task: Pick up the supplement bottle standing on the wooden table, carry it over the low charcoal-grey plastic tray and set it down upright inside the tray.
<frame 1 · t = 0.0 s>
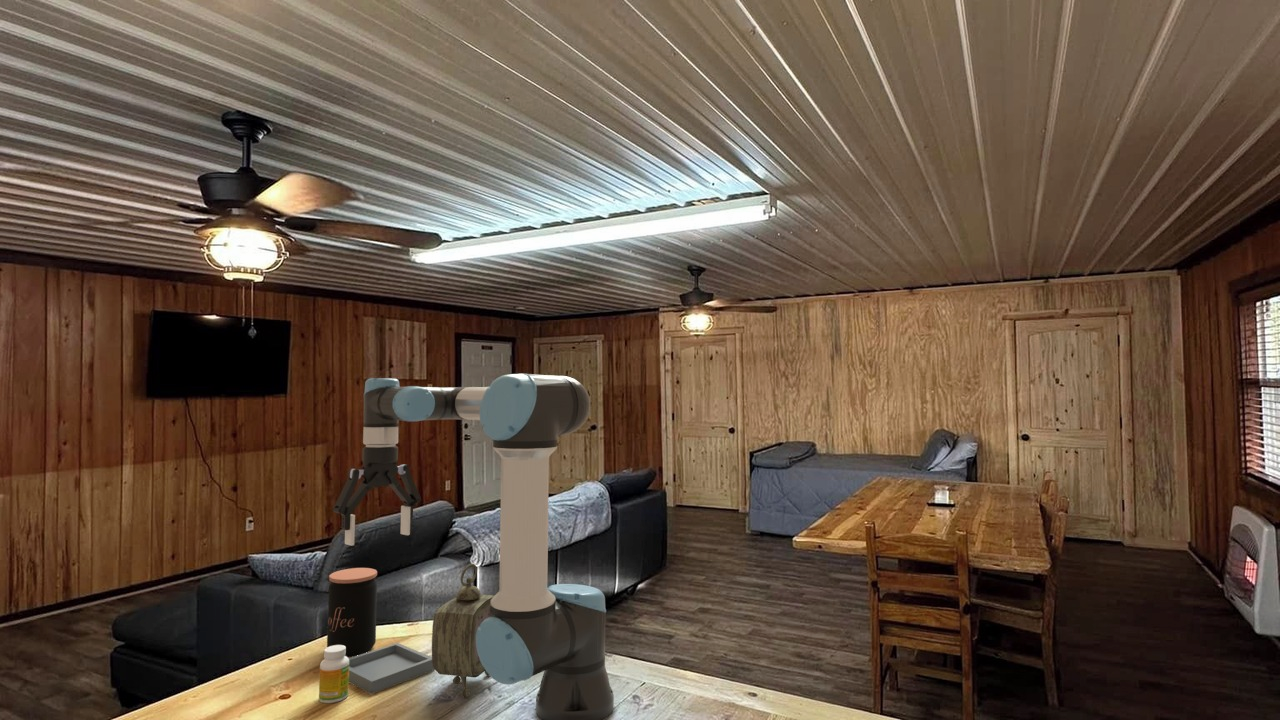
hand: (378, 539, 149), 28 cm above the table, tool pointing down, fingers open, 13 cm apart
supplement bottle: (333, 698, 132), on the table
tabletop clock: (465, 686, 138), on the table
tray: (385, 672, 144), on the table
coffee jar: (351, 650, 156), on the table
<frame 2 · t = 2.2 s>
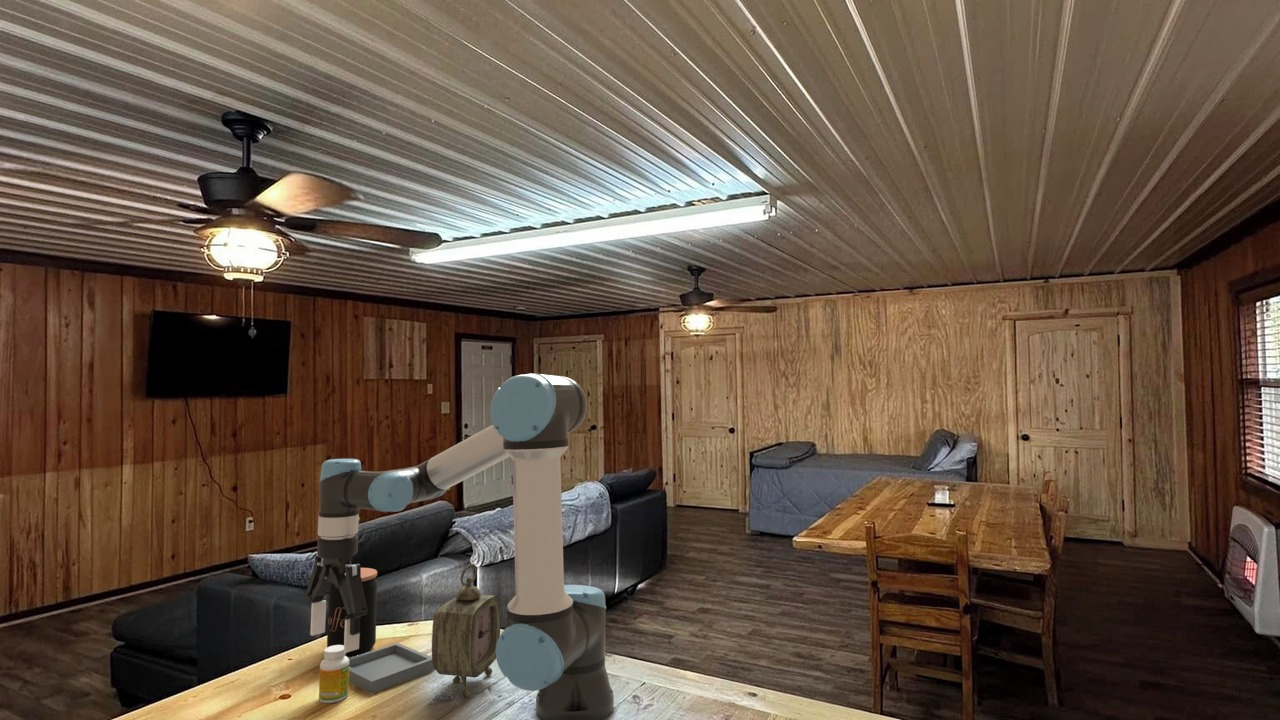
hand: (334, 641, 132), 11 cm above the table, tool pointing down, fingers open, 13 cm apart
nothing on the table moved.
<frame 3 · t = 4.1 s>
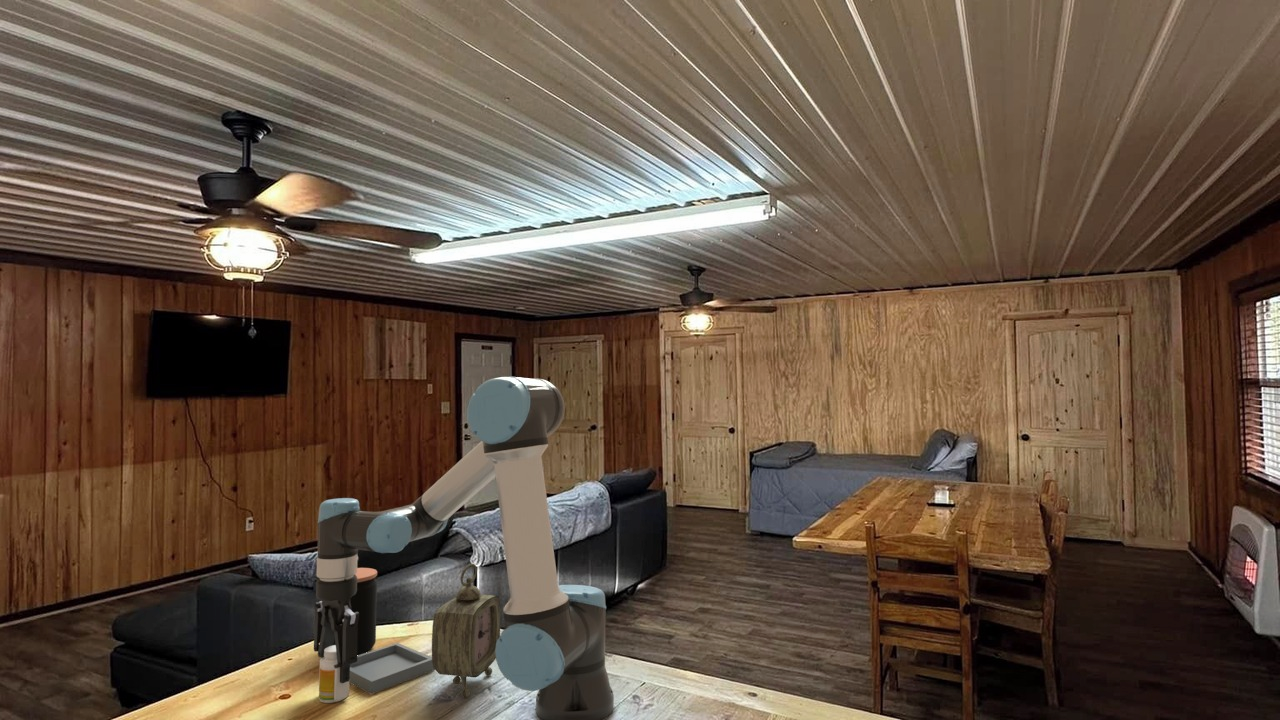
hand: (333, 693, 132), 1 cm above the table, tool pointing down, fingers closed on supplement bottle, 5 cm apart
supplement bottle: (333, 698, 132), on the table, touching gripper
everything else where it was.
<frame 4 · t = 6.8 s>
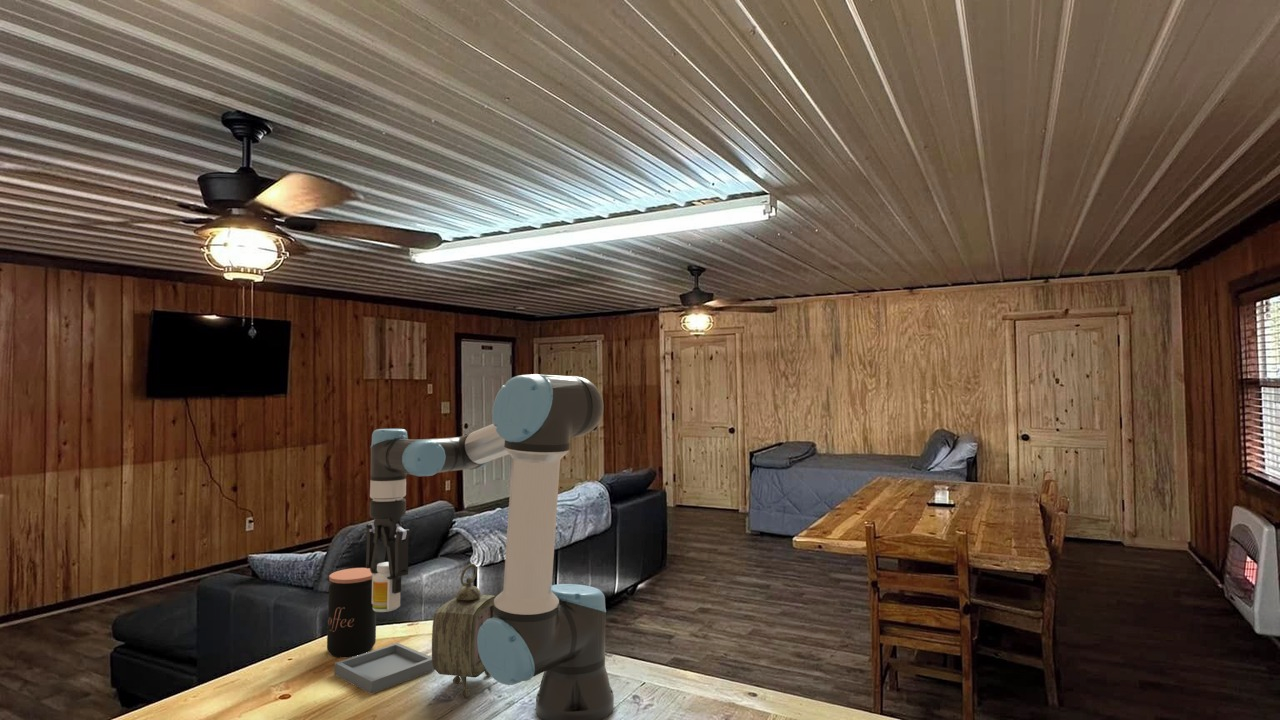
hand: (385, 604, 144), 15 cm above the table, tool pointing down, fingers closed on supplement bottle, 5 cm apart
supplement bottle: (385, 609, 144), point 14 cm above the table, touching gripper
everything else where it was.
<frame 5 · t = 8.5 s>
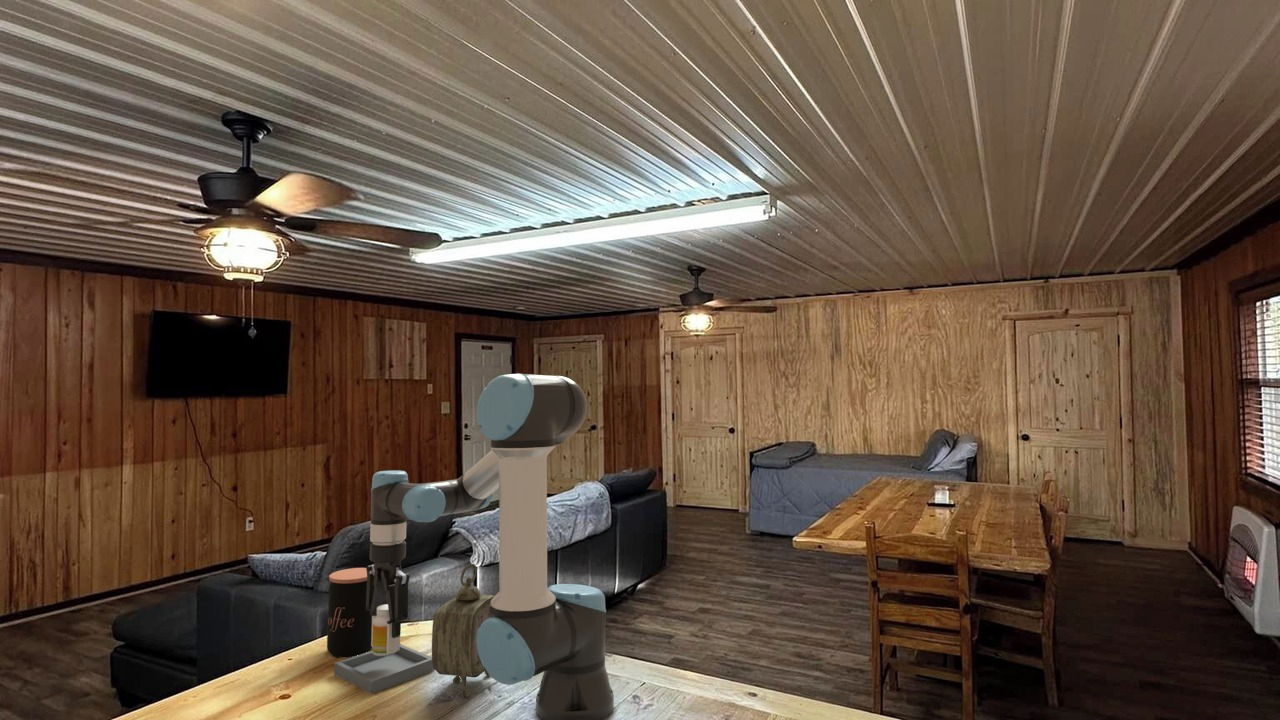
hand: (385, 647, 144), 5 cm above the table, tool pointing down, fingers closed on supplement bottle, 5 cm apart
supplement bottle: (385, 652, 144), point 4 cm above the table, touching gripper
everything else where it was.
when the fingers open (3 cm above the table, at t = 9.8 s): supplement bottle stays where it is, resting on tray.
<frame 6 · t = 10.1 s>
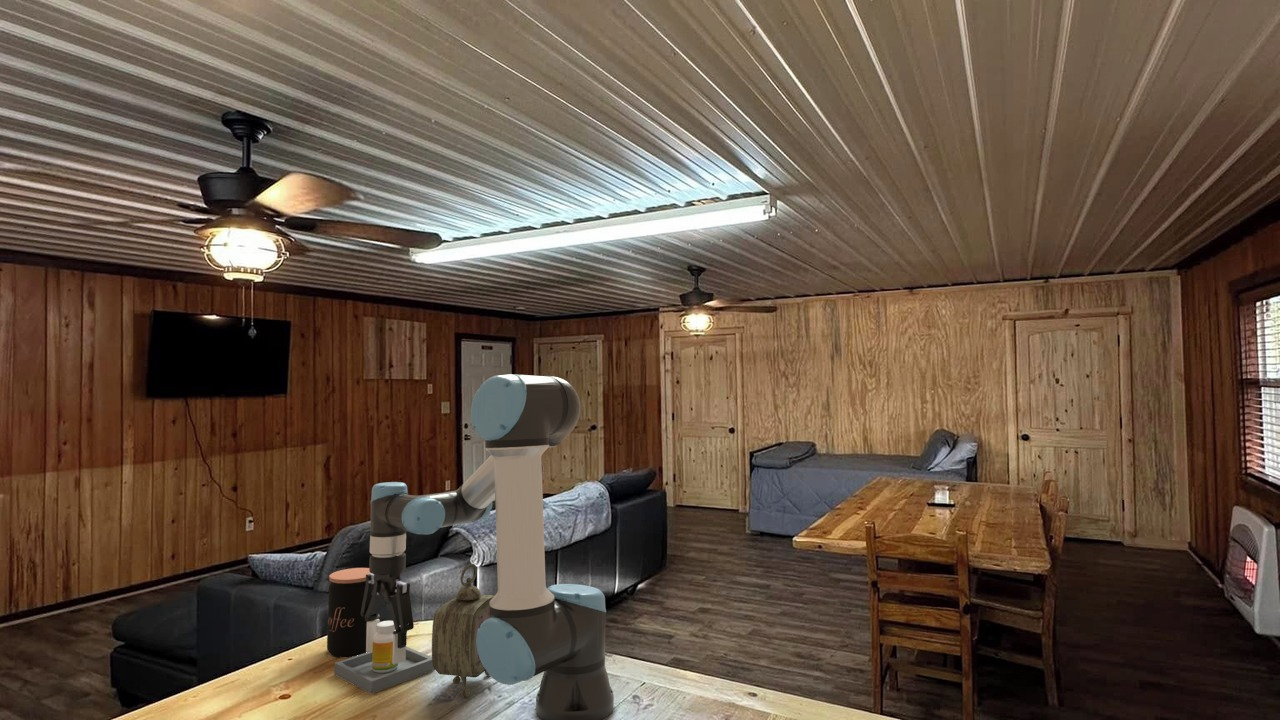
hand: (385, 656, 144), 3 cm above the table, tool pointing down, fingers open, 10 cm apart
supplement bottle: (385, 669, 144), point 1 cm above the table, touching tray
everything else where it was.
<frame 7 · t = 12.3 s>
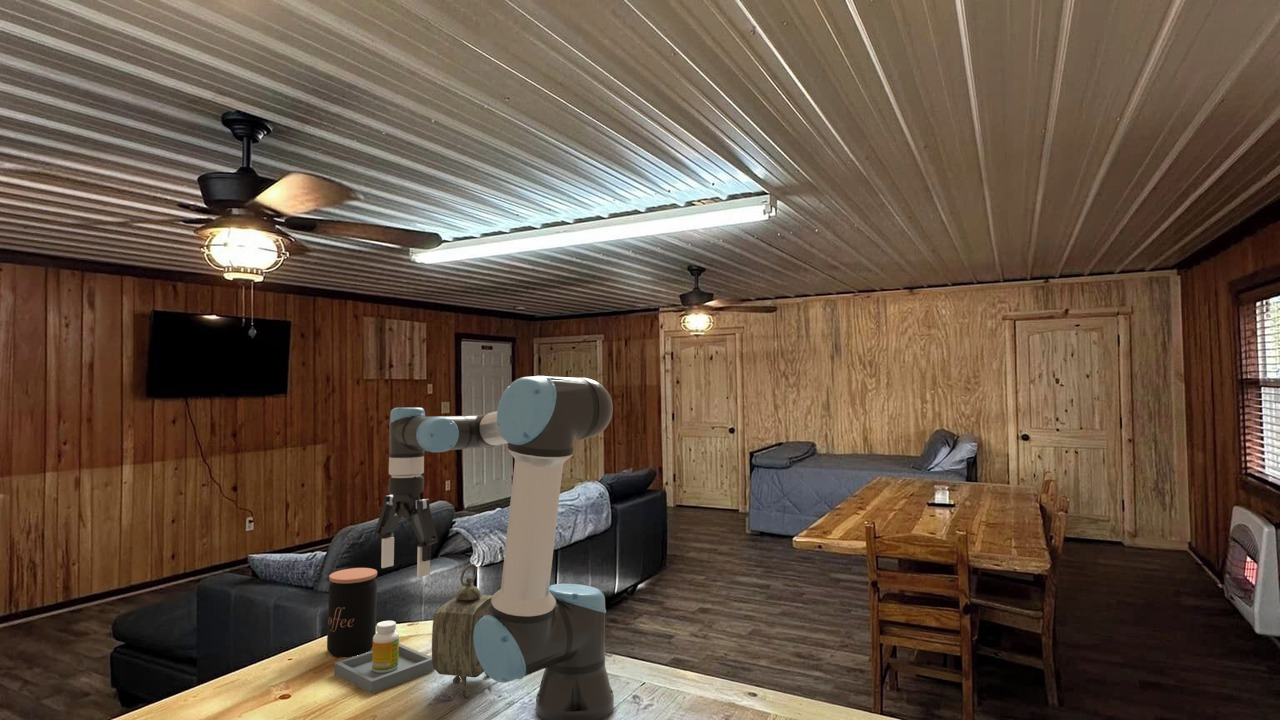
hand: (405, 571, 147), 21 cm above the table, tool pointing down, fingers open, 13 cm apart
nothing on the table moved.
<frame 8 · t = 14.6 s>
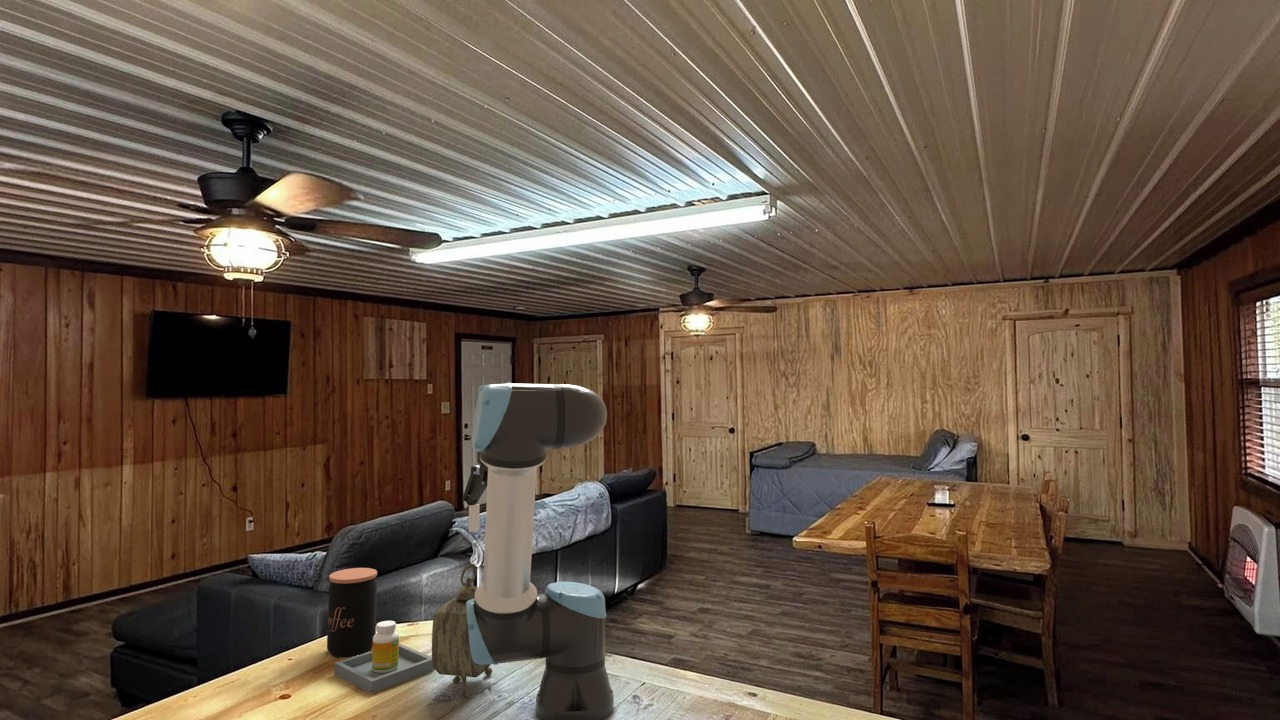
hand: (491, 534, 160), 27 cm above the table, tool pointing down, fingers open, 13 cm apart
nothing on the table moved.
at the end: supplement bottle inside the target area on the tray (0.0 cm from its centre), point 0.6 cm above the tray's base; supplement bottle tilted 0°; the gripper is holding nothing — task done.
